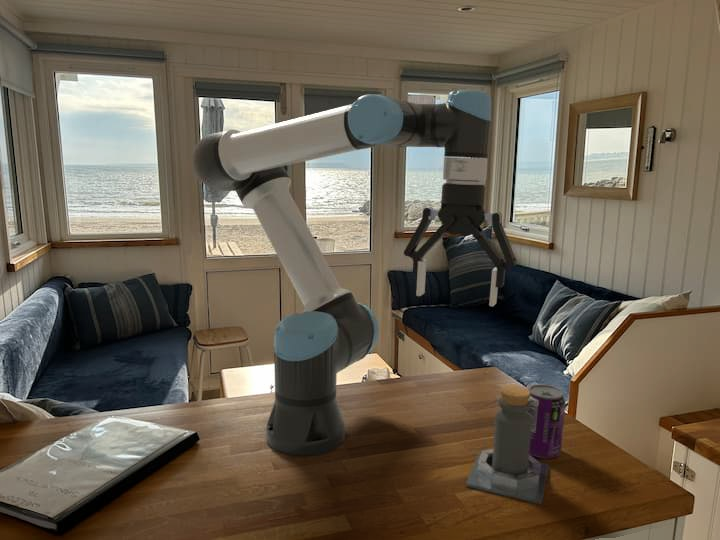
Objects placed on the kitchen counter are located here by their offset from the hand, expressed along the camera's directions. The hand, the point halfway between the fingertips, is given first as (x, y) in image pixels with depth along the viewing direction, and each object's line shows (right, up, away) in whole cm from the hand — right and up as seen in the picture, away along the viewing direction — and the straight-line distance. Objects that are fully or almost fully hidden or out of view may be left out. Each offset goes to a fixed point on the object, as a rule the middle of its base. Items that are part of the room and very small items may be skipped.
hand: (455, 299), depth 103 cm
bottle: (+8, -29, -8) cm, 31 cm away
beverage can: (+16, -28, +1) cm, 33 cm away
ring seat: (+8, -30, -7) cm, 32 cm away
